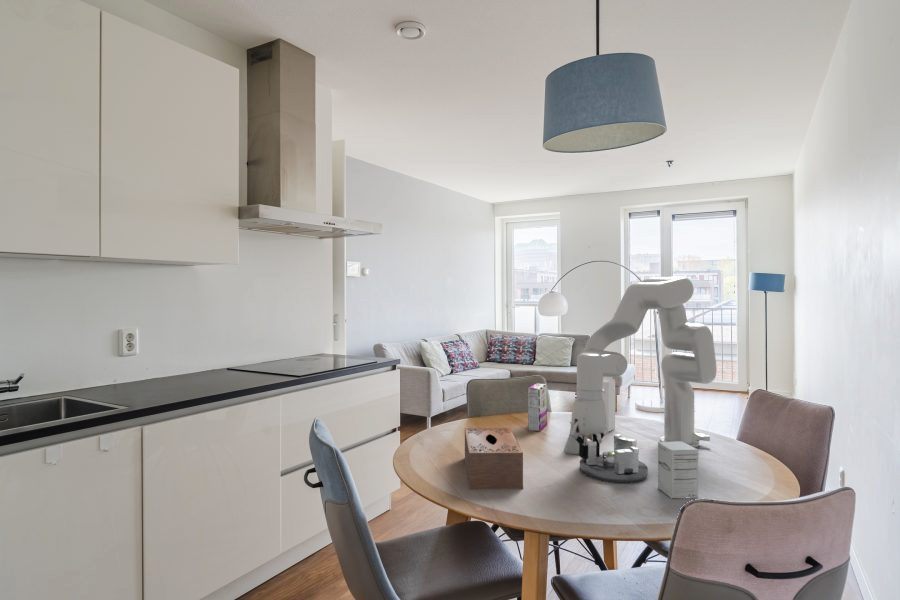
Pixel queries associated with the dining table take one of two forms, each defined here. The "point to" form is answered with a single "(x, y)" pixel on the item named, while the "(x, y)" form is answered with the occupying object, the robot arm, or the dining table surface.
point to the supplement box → (678, 469)
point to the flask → (571, 445)
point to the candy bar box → (537, 407)
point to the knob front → (591, 453)
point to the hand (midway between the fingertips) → (589, 456)
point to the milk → (609, 401)
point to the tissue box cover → (493, 459)
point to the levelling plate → (612, 470)
